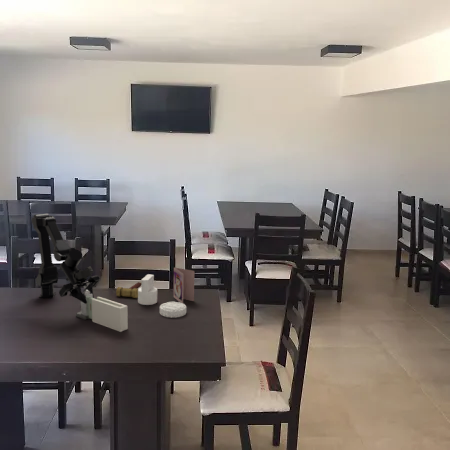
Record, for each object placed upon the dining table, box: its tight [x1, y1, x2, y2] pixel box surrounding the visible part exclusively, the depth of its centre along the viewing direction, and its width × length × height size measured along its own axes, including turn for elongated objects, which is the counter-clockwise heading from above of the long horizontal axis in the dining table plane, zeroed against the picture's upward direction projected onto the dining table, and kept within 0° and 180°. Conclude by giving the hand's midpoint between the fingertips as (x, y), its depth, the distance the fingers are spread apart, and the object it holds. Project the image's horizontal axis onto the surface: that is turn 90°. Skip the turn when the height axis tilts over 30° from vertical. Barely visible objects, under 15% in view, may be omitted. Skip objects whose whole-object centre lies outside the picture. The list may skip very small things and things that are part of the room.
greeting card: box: [172, 267, 195, 304], centre depth 241 cm, size 11×7×15 cm, turn 28°
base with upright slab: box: [137, 273, 158, 306], centre depth 237 cm, size 9×9×12 cm
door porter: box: [75, 289, 94, 321], centre depth 217 cm, size 6×5×12 cm
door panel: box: [88, 297, 110, 320], centre depth 213 cm, size 12×1×9 cm, turn 55°
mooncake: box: [159, 301, 187, 319], centre depth 226 cm, size 12×12×4 cm
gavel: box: [115, 281, 141, 299], centre depth 252 cm, size 21×5×10 cm
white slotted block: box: [91, 296, 129, 333], centre depth 209 cm, size 17×4×10 cm, turn 55°
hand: (89, 301), depth 215 cm, fingers closed on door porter, 3 cm apart
